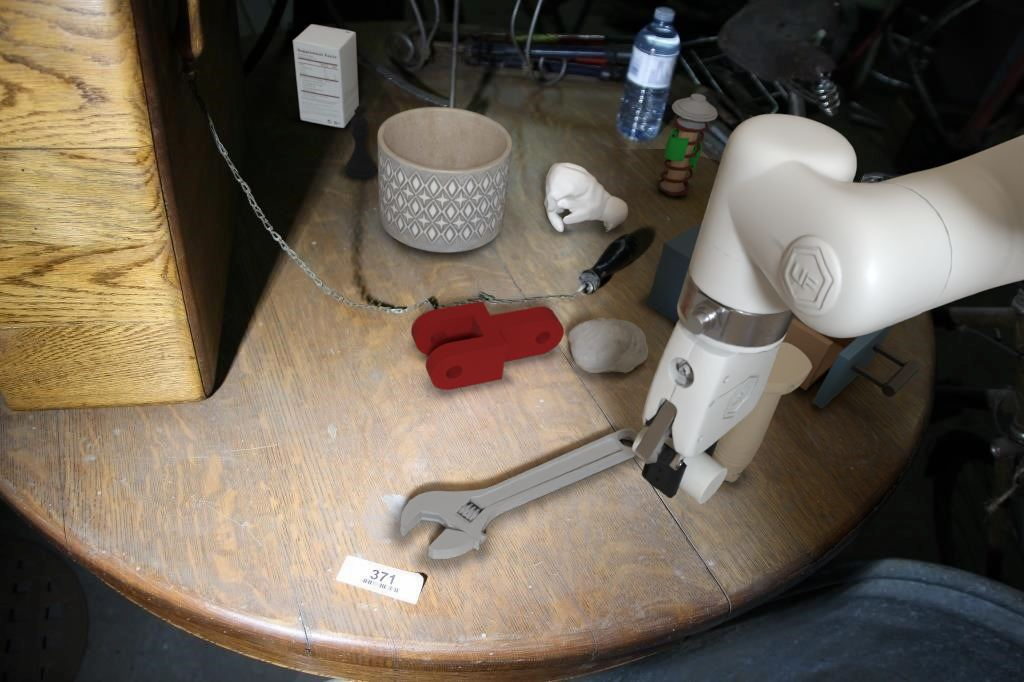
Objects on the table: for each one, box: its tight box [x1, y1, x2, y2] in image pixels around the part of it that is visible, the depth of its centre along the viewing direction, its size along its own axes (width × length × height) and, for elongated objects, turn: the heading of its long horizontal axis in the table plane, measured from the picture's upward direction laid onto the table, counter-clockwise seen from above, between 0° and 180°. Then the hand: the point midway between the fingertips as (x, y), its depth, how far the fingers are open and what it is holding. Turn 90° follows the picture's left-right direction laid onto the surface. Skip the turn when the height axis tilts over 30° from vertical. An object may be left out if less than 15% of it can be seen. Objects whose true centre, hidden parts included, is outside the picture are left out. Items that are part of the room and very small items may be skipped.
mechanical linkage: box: [410, 300, 565, 391], centre depth 81 cm, size 16×7×5 cm, turn 112°
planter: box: [377, 106, 513, 254], centre depth 96 cm, size 16×16×13 cm
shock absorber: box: [656, 93, 719, 197], centre depth 108 cm, size 6×6×15 cm
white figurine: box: [543, 162, 629, 233], centre depth 101 cm, size 6×8×12 cm
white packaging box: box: [292, 23, 360, 129], centre depth 116 cm, size 7×7×13 cm
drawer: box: [782, 315, 921, 410], centre depth 83 cm, size 18×11×7 cm, turn 43°
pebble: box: [567, 317, 649, 374], centre depth 83 cm, size 9×8×5 cm
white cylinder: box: [631, 426, 728, 505], centre depth 62 cm, size 7×4×4 cm, turn 43°
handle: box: [712, 342, 812, 483], centre depth 69 cm, size 5×6×15 cm
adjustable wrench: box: [399, 428, 640, 560], centre depth 69 cm, size 25×6×2 cm, turn 117°
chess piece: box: [344, 105, 378, 180], centre depth 105 cm, size 4×4×10 cm
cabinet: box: [646, 222, 702, 325], centre depth 89 cm, size 15×13×9 cm
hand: (674, 471), depth 63 cm, fingers closed on white cylinder, 3 cm apart
